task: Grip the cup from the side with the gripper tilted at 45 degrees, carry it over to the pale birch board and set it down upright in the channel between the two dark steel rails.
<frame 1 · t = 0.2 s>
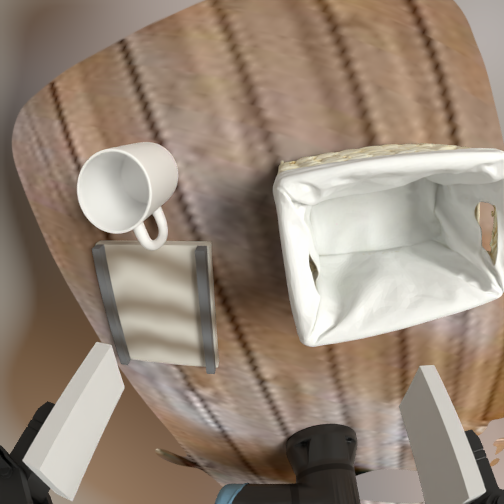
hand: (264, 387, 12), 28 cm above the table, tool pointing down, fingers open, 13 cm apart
cup: (154, 187, 37), on the table
storage basket: (371, 206, 37), on the table
rail board: (160, 305, 43), on the table
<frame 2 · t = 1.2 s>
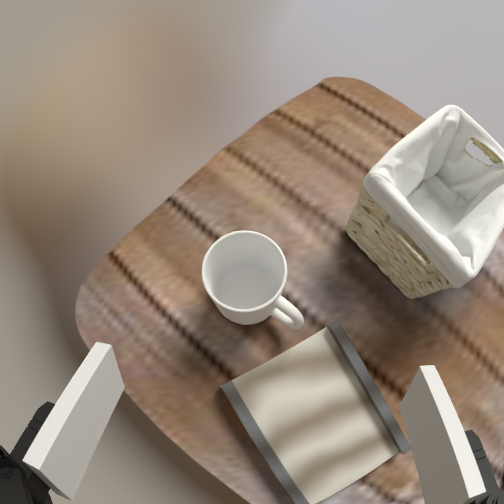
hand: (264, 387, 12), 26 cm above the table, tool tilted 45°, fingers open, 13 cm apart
cup: (258, 302, 39), on the table
storage basket: (417, 224, 43), on the table
rail board: (318, 420, 34), on the table
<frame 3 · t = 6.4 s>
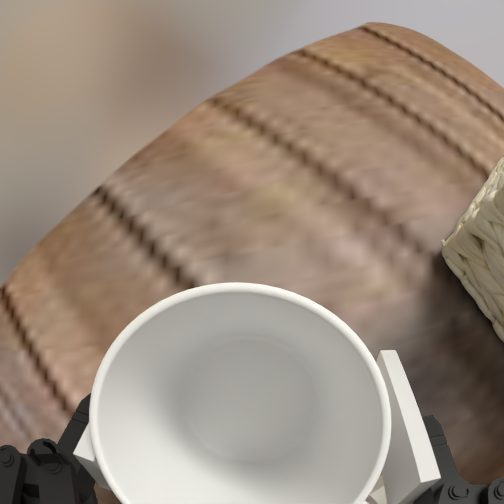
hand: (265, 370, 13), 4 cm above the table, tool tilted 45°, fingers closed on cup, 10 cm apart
cup: (273, 421, 16), on the table, touching gripper
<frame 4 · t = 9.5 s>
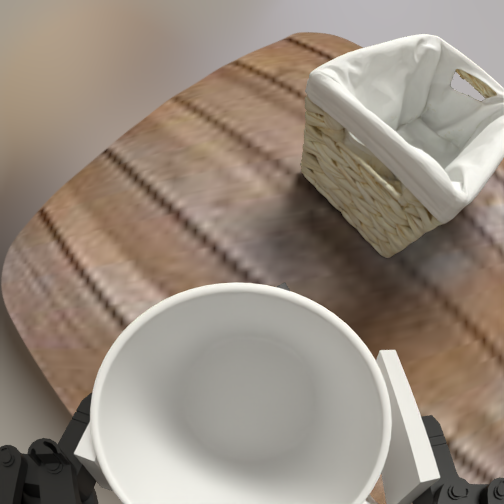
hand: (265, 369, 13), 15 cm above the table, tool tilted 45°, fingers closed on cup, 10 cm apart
cup: (272, 421, 16), point 11 cm above the table, touching gripper
storage basket: (397, 172, 35), on the table
when the fingers open (7 cm above the table, at t = 12.6 s): cup drops 2 cm, resting on rail board.
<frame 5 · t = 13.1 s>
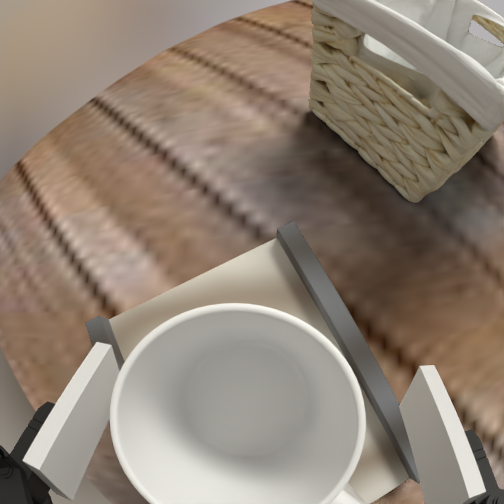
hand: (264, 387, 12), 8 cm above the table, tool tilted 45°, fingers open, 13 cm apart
cup: (267, 419, 17), point 1 cm above the table, touching rail board
storage basket: (417, 119, 28), on the table
rail board: (259, 413, 19), on the table
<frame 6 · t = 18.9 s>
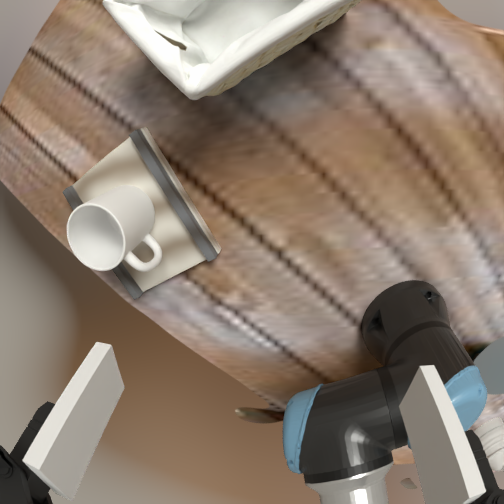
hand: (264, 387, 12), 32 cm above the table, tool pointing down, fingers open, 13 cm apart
honey pot: (484, 430, 63), on the table
cup: (140, 220, 42), point 1 cm above the table, touching rail board
storage basket: (253, 14, 31), on the table
rail board: (140, 215, 43), on the table
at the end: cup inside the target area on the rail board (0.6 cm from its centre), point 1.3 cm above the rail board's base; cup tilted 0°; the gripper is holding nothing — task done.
